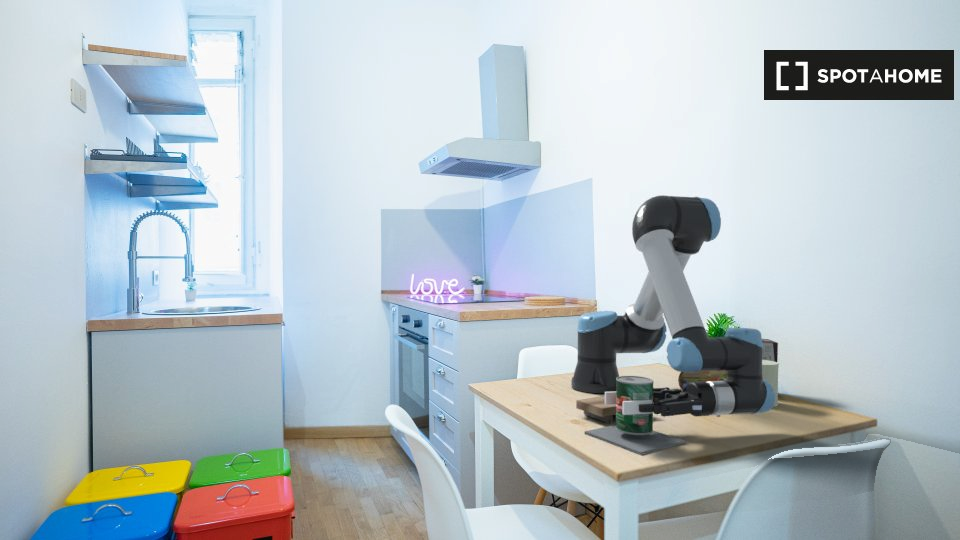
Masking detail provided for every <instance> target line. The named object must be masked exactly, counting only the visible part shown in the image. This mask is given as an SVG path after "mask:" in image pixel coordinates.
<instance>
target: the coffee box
mask: <svg viewBox="0 0 960 540" xmlns="http://www.w3.org/2000/svg"><path fill="white" fill-rule="evenodd" d="M762 347H763V350H762V360H769V361H774V362H777V363H778V355H779V354H778V352H779V343H778V342H777V341H774V340H771V339H769V338H762Z"/></svg>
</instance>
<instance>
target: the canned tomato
mask: <svg viewBox="0 0 960 540" xmlns="http://www.w3.org/2000/svg"><path fill="white" fill-rule="evenodd" d="M653 388H654V379H652V378H649V377H645V376H639V375H619V377H617V378H616V415H615V425H616V429H617V430H618V431H620V432H623V433H626V434H632V435H647V434H651V433H652V432H653V431H654V428H653V427H654V425H653V424H654V412H652V413H651V414H632V415H623V414H622V403H623V401H636V400H652V404H654V403H653Z"/></svg>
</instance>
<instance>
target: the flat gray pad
mask: <svg viewBox="0 0 960 540" xmlns="http://www.w3.org/2000/svg"><path fill="white" fill-rule="evenodd" d="M584 434H585V435H588V436H590V437H592V438H595V439H599V440H601V441H603V442H606V443H609V444H611V445H613V446H617V447H619V448H621V449H624V450H626V451H629V452H632V453H635V454H638V455H641V456H642V455H645V454H646V455H647V454H649V453H653V452H657V451H662V450H665V449H669V448H673V447H677V446H681V445H684V444H686V442H687V441H686V440H683V439H681V438H678V437H674V436H671V435H668V434H666V433H663V432H659V431H656V430H653V432H652V433H651V434H647V435H632V434H626V433H623V432H620V431H618V430H617V429H616V424H614V425H609V426H604V427H599V428H594V429H589V430H585V431H584ZM680 444H681V445H680ZM676 445H677V446H676Z"/></svg>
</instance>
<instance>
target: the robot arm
mask: <svg viewBox="0 0 960 540" xmlns="http://www.w3.org/2000/svg"><path fill="white" fill-rule="evenodd" d="M721 226H722V217H721V212H720V209H719V207H718V206H717V204H716V203H715V202H714V201H713V200H712V199H710V198H705V197H700V196H694V197H693V196H677V195H676V196H673V195H655V196H652V197H650V198H648V199H647V200H645V201H644V202H643V203H642V204H640V206H639V207H638V208H637V210H636V212H635V214H634V217H633V220H632V229H631V231H632V239H633V241H634V245H635V247H636V249H637V251H639V252H641V253H642V255H643V258H644V261H645V264H646V267H647V270H648V273H647V275H646V277H645V280H644V281H643V283H642V287H641V288H640V291H639V293H638V296H637V298H636V300H635V302H634V303H632V304H630V305H628V306H627V308H626V311H625V312H624V315H618V313H617V312H616V311H613V310H604V311H602V310H600V311H599V310H598V311H592V312H586V313H583V314H581V315H580V316H579V318H578V321H577V322H578V324H577V329H576V331H577V362H576V366H575V369H574V373H573V376H572V378H571V385H570V386H571V389H573V390H576V391H578V392H583V393H584V392H585V393H591V394H604V396H605V404H606V405H609V404H616V378H617V377H620V375H619V374H620V372H619V369H618V367H617V354H648V353H655V352H657V351H658V350H660V349H661V348H662V347H663V345H664V344H665V342H666V339H667V334H666V332H667V331H668V330H669V333H670V335H671V338H672V339H671V340H670V341H669V342H668V344H667V346H666V353H667V355H666V359H667V363H668V364H669V366H670V367H671V369H673V370H675V371H677V372H679V373H681V372H693V373H695V372H701V371H726V376H727V381H706V382H690V383H688V384H687V385H686V387H685V389H684V390H682V389H681V388H679V389H678V388H673V389H671V388H670V387H653V404H652V400H636V401H623V403H622V414H623V415H632V414H651V413H652V412H653V415H659V414H660V416H661V417H663V418H665V417H671V416H682V415H688V414H690V415H691V416H693V417H708V416H715V417H716V418H720V417H721V416H723V415H724V416H725V415H748V414H749V415H754V414H760V413H766V412H769V411H770V410H772V408H774V407H773V406H774V403H775V393H774V392H773V387H772V386H771V384H770V383H769V382H767V381H765V380H763V377H762V350H763V347H762V339H763V338H762V332H761V331H760V330H759V329H758V328H751V327H750V328H749V327H729V328H727V329H726V331H725V335H724V336H717V337H712V336H711V337H709V335H708V333H707V330H706V328H705V325H704V322H703V320H702V318H701V315H700V312H699V309H698V307H697V304H696V303H695V299H694V297H693V294H692V292H691V289H690V286H689V283H688V281H687V279H686V276H685V273H684V270H685V268H686V265H687V264H688V262H689V260H690V258H691V256H692V255H696V254H698V253H699V252H700V250H701V248H702V246H703V245H704V243H705V242H706V243H708V242H711V241H714V240H715V239H716V238H717V237H718V235H719V233H720V231H721ZM663 316H664V317H663ZM665 321H666V322H665ZM666 324H667V325H666ZM667 326H668V327H667ZM667 328H668V330H667Z"/></svg>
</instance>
